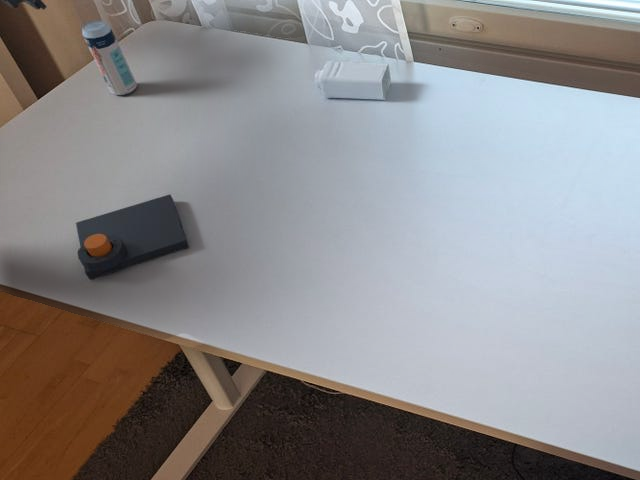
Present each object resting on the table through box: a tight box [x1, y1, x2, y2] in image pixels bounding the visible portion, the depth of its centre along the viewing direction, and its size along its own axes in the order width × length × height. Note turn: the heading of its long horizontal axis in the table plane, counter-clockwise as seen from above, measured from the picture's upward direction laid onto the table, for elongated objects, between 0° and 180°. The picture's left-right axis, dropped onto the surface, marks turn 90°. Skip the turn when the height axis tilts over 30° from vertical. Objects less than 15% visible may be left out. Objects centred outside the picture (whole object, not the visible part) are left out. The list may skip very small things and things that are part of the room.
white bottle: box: [314, 60, 392, 101], centre depth 122 cm, size 6×13×4 cm, turn 83°
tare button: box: [84, 234, 112, 257], centre depth 94 cm, size 3×3×2 cm
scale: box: [75, 194, 190, 280], centre depth 99 cm, size 14×13×3 cm
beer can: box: [81, 19, 138, 96], centre depth 122 cm, size 5×5×12 cm
